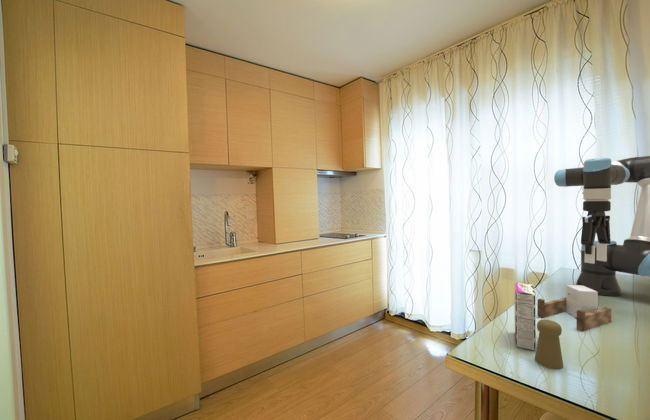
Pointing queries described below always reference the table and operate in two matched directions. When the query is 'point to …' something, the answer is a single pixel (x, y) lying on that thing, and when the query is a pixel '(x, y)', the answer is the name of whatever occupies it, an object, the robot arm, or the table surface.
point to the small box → (580, 299)
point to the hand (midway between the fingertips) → (595, 261)
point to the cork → (549, 345)
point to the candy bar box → (525, 316)
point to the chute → (583, 319)
